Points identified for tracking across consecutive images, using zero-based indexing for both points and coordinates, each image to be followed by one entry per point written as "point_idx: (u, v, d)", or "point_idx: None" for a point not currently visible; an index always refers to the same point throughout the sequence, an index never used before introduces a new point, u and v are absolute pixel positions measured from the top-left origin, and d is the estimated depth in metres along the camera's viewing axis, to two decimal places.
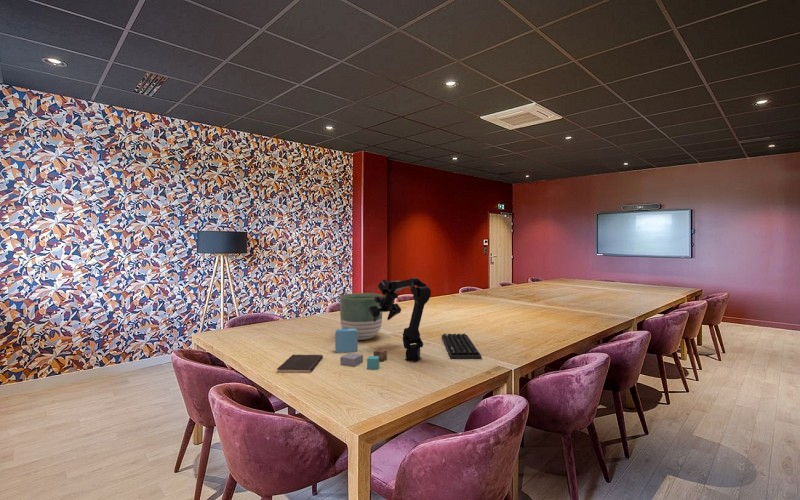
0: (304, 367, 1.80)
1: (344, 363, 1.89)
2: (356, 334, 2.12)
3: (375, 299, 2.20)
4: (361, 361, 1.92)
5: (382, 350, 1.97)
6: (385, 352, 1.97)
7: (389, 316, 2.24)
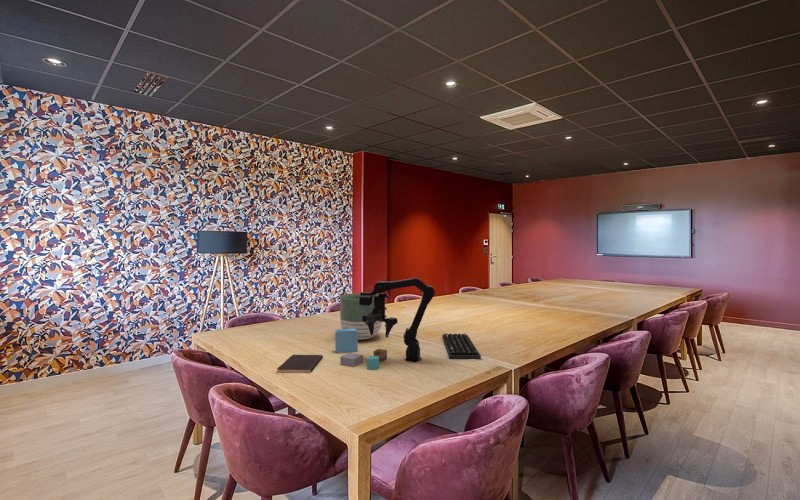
0: (304, 367, 1.80)
1: (344, 363, 1.89)
2: (356, 334, 2.12)
3: (379, 317, 1.90)
4: (361, 361, 1.92)
5: (382, 350, 1.97)
6: (385, 352, 1.97)
7: (372, 329, 2.00)
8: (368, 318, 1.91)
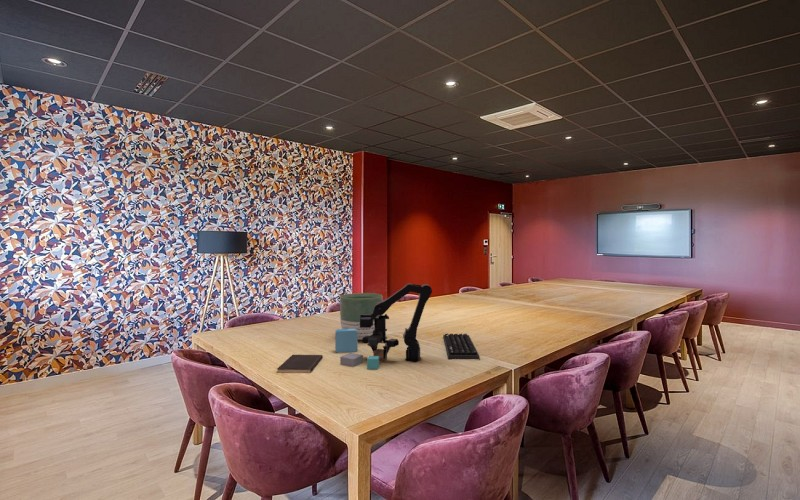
0: (304, 367, 1.80)
1: (344, 363, 1.89)
2: (356, 334, 2.12)
3: (381, 339, 1.90)
4: (361, 361, 1.92)
5: (382, 350, 1.97)
6: None
7: None
8: (370, 341, 1.90)
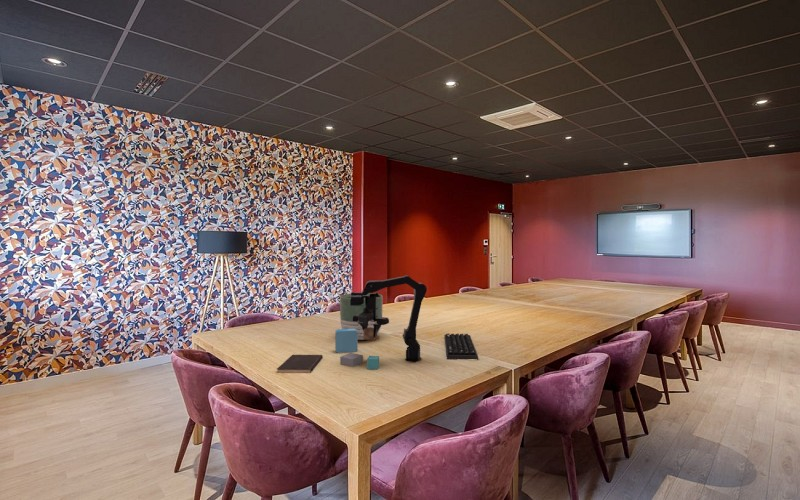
0: (304, 367, 1.80)
1: (343, 363, 1.89)
2: (356, 334, 2.12)
3: (371, 317, 1.88)
4: (361, 361, 1.92)
5: (372, 328, 1.95)
6: None
7: None
8: (359, 318, 1.88)
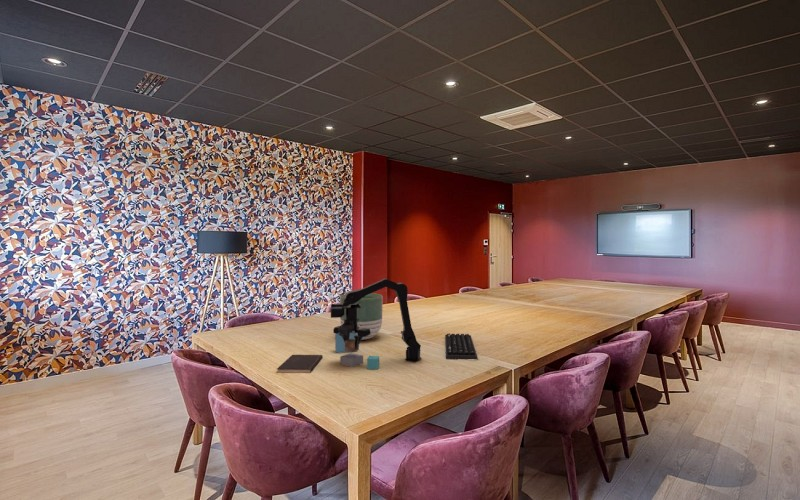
0: (304, 367, 1.80)
1: (343, 363, 1.89)
2: None
3: (351, 329, 1.84)
4: (361, 361, 1.92)
5: (354, 340, 1.92)
6: None
7: None
8: (340, 330, 1.85)
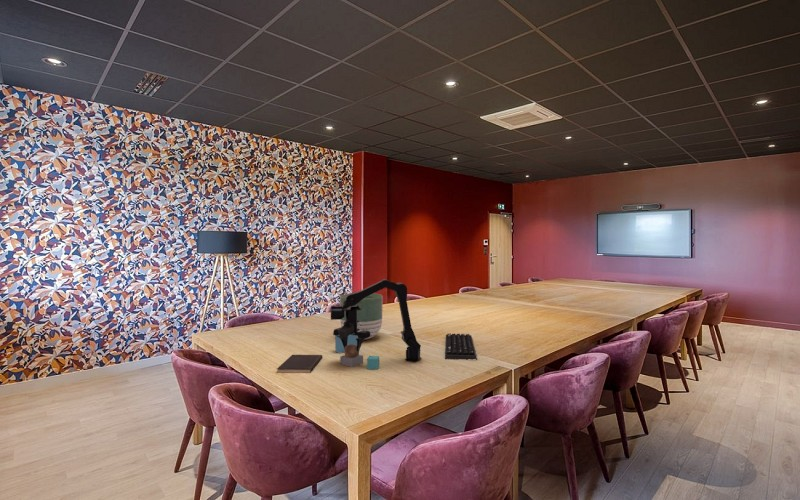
0: (304, 367, 1.80)
1: (343, 363, 1.90)
2: None
3: (351, 331, 1.84)
4: (361, 362, 1.92)
5: (354, 345, 1.92)
6: None
7: (345, 343, 1.94)
8: (340, 332, 1.85)
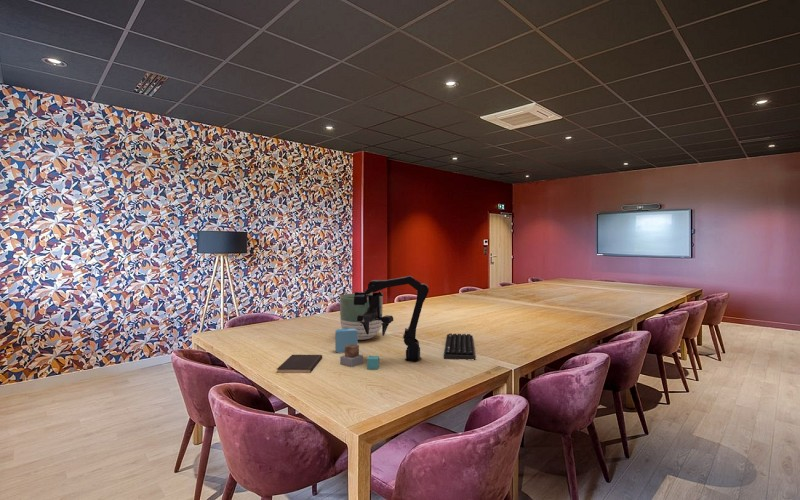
0: (304, 367, 1.80)
1: (343, 363, 1.90)
2: (356, 334, 2.12)
3: (376, 315, 1.90)
4: (361, 362, 1.91)
5: (354, 345, 1.92)
6: (357, 347, 1.92)
7: (367, 328, 2.00)
8: (364, 317, 1.91)
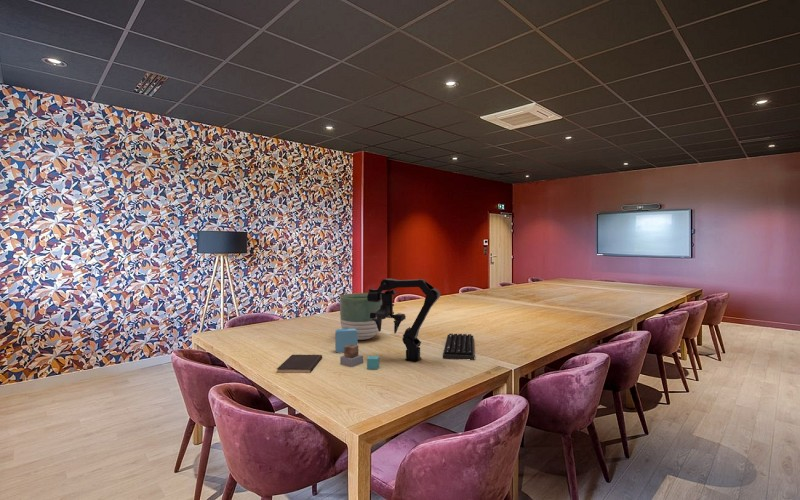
0: (304, 367, 1.80)
1: (343, 363, 1.90)
2: (356, 334, 2.12)
3: (388, 313, 1.94)
4: (361, 362, 1.91)
5: (353, 346, 1.91)
6: (356, 348, 1.91)
7: (380, 326, 2.04)
8: (377, 315, 1.95)
